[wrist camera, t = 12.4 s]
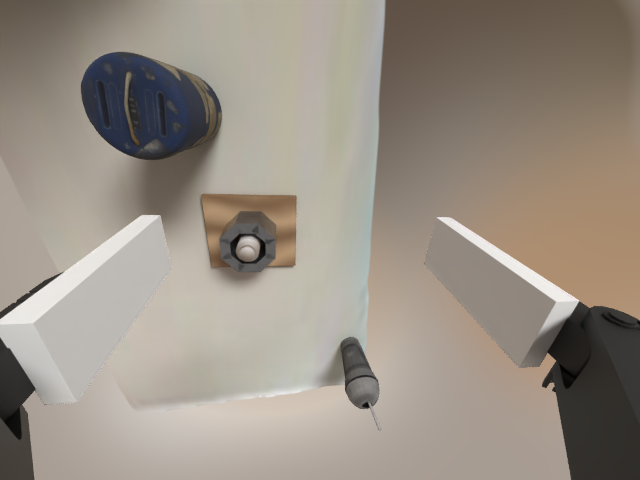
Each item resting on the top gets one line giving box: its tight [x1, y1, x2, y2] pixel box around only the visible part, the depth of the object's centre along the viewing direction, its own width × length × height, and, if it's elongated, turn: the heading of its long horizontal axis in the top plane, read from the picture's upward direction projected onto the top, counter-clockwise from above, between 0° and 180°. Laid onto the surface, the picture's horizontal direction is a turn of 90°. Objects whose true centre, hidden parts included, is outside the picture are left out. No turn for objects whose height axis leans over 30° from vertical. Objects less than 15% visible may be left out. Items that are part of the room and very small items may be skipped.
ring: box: [219, 211, 277, 272], centre depth 46 cm, size 9×9×6 cm
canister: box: [81, 52, 222, 160], centre depth 32 cm, size 10×10×18 cm
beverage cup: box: [341, 337, 381, 431], centre depth 57 cm, size 7×7×20 cm
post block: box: [201, 194, 296, 267], centre depth 45 cm, size 14×16×9 cm
